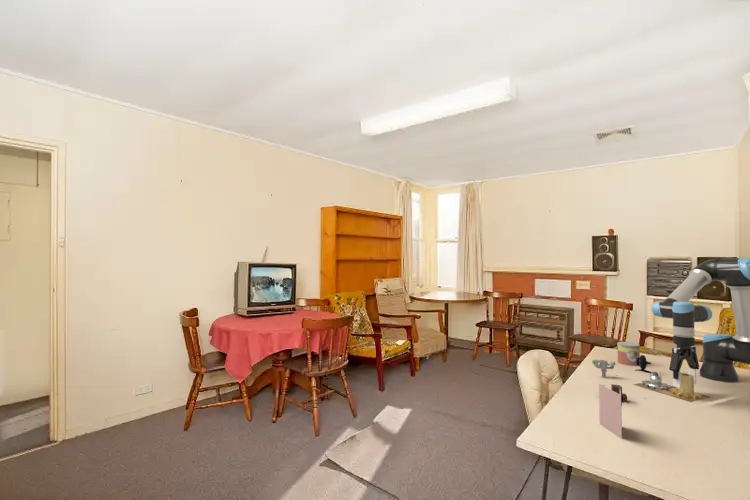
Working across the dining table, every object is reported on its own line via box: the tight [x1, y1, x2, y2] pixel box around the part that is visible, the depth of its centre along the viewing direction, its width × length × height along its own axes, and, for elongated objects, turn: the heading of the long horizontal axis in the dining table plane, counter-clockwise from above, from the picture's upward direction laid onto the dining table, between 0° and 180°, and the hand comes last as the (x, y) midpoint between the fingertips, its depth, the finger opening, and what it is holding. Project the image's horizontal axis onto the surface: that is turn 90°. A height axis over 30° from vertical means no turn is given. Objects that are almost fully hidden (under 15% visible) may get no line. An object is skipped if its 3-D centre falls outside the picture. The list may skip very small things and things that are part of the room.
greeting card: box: [598, 383, 624, 439], centre depth 132 cm, size 11×7×15 cm, turn 148°
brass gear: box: [669, 372, 702, 400], centre depth 165 cm, size 11×11×9 cm
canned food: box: [616, 341, 641, 367], centre depth 221 cm, size 11×11×12 cm
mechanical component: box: [592, 359, 616, 379], centre depth 189 cm, size 3×10×10 cm, turn 79°
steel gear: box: [641, 374, 671, 390], centre depth 176 cm, size 11×11×5 cm
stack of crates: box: [610, 384, 628, 404], centre depth 163 cm, size 15×15×7 cm
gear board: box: [632, 371, 711, 403], centre depth 170 cm, size 16×24×8 cm, turn 23°
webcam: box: [634, 354, 653, 375], centre depth 202 cm, size 8×8×10 cm
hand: (684, 384), depth 165 cm, fingers open, 11 cm apart
